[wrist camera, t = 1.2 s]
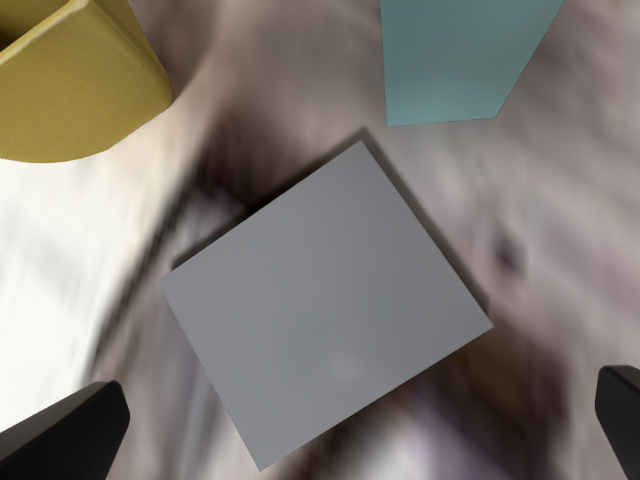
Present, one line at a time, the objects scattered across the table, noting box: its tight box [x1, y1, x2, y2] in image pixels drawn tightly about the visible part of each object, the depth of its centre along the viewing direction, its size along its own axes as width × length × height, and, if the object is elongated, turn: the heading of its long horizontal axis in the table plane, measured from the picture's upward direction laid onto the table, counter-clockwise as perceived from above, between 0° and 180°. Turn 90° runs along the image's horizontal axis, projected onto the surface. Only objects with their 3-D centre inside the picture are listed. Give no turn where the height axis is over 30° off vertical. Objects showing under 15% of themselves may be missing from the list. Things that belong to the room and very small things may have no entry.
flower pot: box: [0, 0, 172, 163], centre depth 18 cm, size 9×9×9 cm
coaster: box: [157, 140, 494, 471], centre depth 19 cm, size 10×12×1 cm
